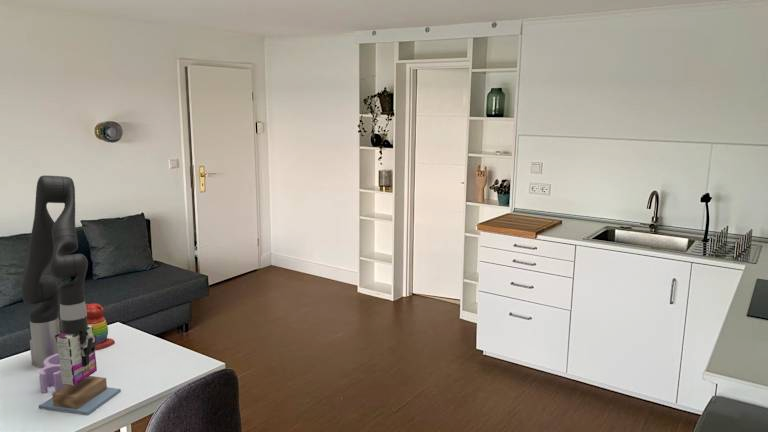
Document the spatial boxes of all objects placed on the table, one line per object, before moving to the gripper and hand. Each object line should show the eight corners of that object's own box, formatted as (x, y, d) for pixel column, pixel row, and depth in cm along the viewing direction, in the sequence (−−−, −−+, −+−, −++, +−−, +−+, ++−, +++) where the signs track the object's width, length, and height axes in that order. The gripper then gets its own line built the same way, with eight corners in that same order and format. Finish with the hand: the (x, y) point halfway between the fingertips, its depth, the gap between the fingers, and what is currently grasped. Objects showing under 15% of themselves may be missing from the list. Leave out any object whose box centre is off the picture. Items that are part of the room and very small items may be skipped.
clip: (70, 392, 201) (68, 373, 199) (30, 394, 199) (28, 375, 198) (91, 367, 220) (89, 349, 219) (55, 368, 218) (53, 350, 217)
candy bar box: (84, 369, 200) (80, 323, 197) (97, 371, 199) (93, 325, 196) (60, 384, 189) (55, 336, 186) (73, 386, 188) (69, 337, 185)
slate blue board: (39, 408, 189) (38, 405, 189) (74, 385, 205) (74, 383, 205) (88, 415, 186) (87, 412, 186) (120, 391, 201) (120, 388, 201)
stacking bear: (117, 342, 243) (113, 300, 239) (100, 352, 233) (96, 309, 230) (94, 339, 245) (90, 298, 242) (76, 349, 235) (72, 306, 232)
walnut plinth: (53, 405, 189) (52, 394, 189) (83, 385, 203) (82, 375, 202) (77, 409, 187) (76, 397, 187) (106, 388, 201) (106, 377, 200)
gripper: (45, 317, 188) (50, 367, 191) (85, 321, 185) (89, 372, 188) (63, 309, 195) (67, 358, 198) (101, 313, 192) (105, 362, 195)
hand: (78, 364), depth 193 cm, fingers closed on candy bar box, 5 cm apart
